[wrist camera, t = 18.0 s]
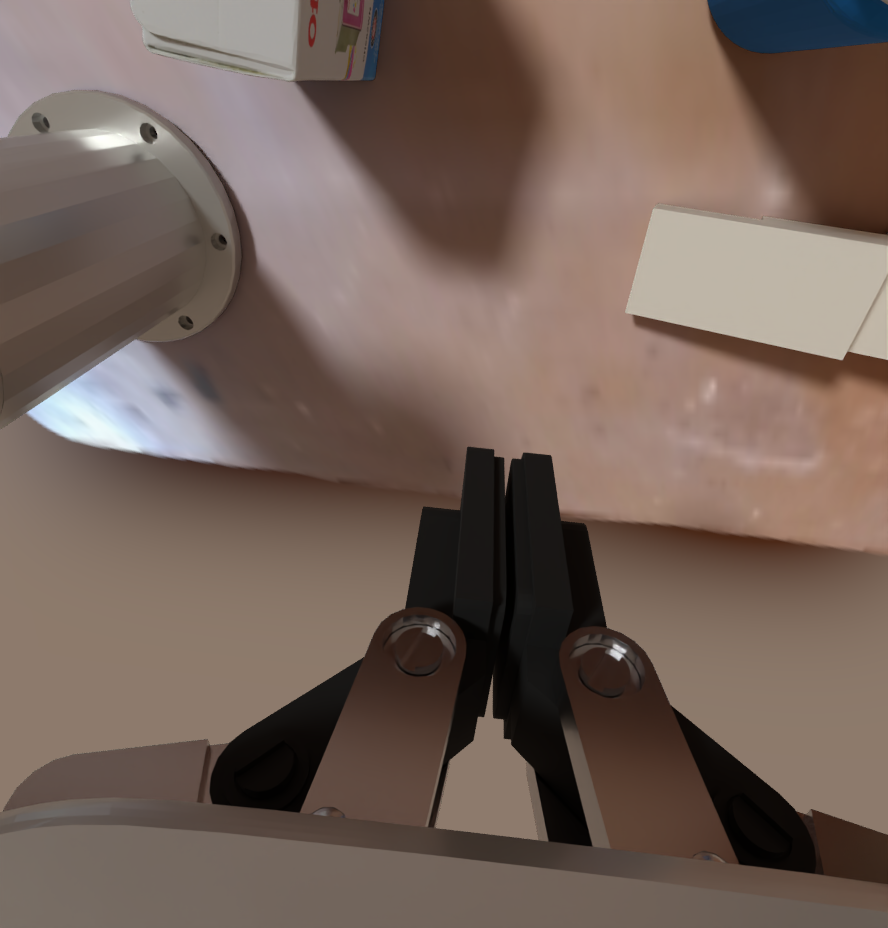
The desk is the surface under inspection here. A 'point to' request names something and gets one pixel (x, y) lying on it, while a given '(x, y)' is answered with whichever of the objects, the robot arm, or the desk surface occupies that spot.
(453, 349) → the desk surface
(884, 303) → the domino
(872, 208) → the desk surface
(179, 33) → the ink box
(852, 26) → the beverage can
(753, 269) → the domino
